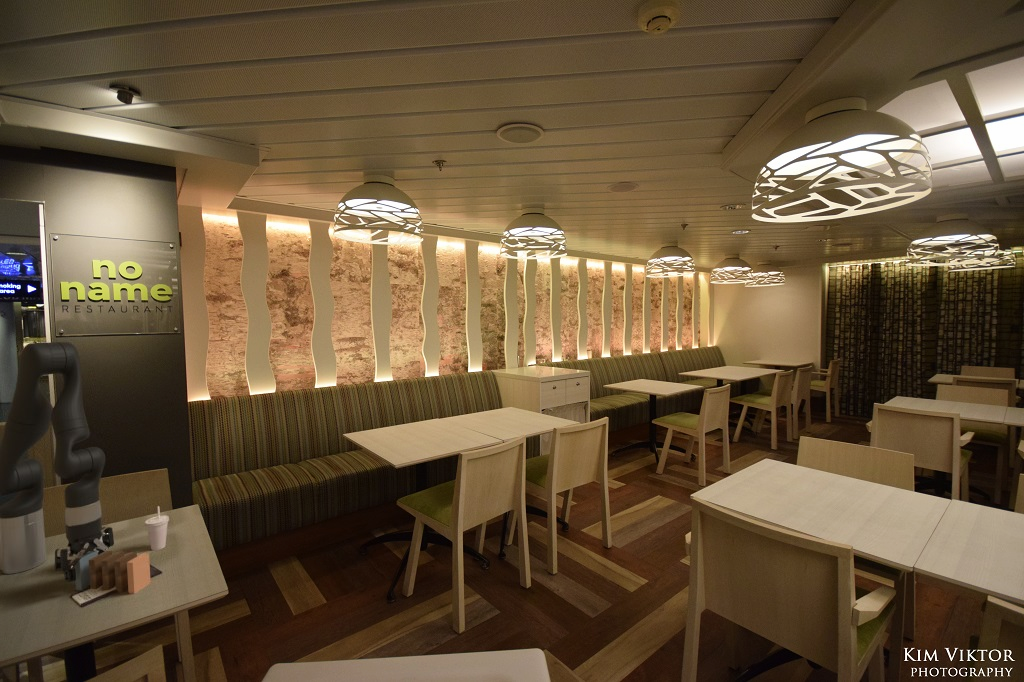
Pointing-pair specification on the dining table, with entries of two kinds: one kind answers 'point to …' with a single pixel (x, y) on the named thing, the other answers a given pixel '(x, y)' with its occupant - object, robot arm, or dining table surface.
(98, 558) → the domino
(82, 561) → the domino
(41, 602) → the dining table surface
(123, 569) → the domino
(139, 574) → the domino end
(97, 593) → the chocolate bar
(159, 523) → the smoothie
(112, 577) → the domino
